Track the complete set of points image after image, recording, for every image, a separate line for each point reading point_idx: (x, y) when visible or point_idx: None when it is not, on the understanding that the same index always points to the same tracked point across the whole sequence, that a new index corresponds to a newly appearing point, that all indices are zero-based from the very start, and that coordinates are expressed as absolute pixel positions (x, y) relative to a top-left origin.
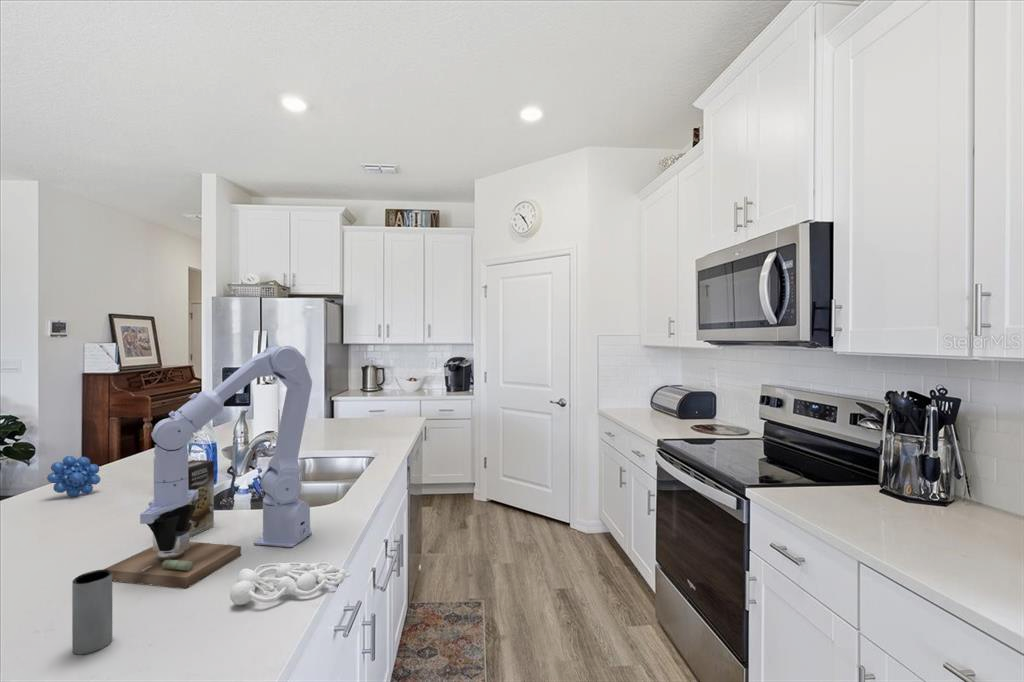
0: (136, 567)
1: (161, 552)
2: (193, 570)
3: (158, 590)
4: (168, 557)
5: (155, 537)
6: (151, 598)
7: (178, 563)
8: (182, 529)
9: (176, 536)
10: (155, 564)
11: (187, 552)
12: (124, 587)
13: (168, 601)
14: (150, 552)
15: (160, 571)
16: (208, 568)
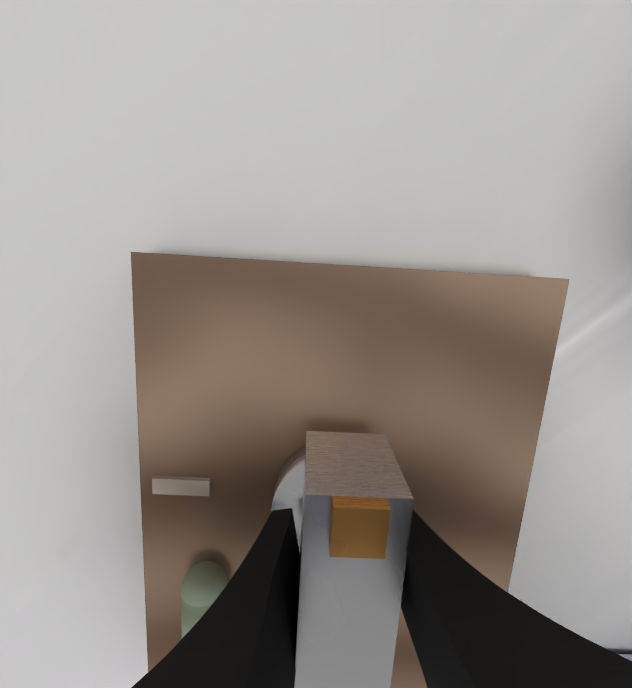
0: (191, 416)
1: (287, 500)
2: None
3: (133, 567)
4: None
5: (231, 580)
6: (75, 588)
7: None
8: (419, 651)
9: (294, 685)
10: (238, 485)
11: None
12: (122, 417)
13: (73, 656)
14: (377, 334)
15: (176, 562)
16: None
